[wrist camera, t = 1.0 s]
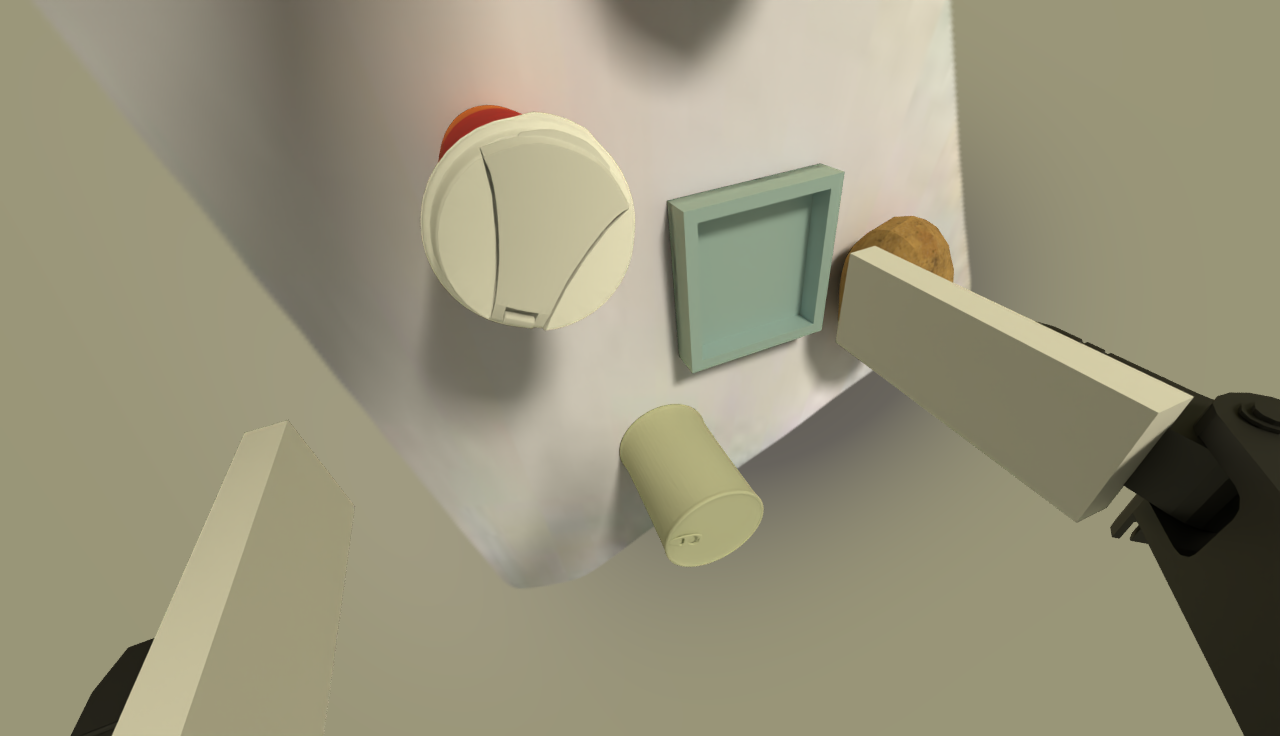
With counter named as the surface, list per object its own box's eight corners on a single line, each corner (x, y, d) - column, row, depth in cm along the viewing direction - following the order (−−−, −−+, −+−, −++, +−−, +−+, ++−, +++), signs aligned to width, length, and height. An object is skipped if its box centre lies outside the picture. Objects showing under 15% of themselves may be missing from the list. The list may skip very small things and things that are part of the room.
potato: (909, 179, 41) (994, 206, 35) (897, 309, 50) (963, 348, 44) (812, 224, 40) (882, 259, 34) (817, 348, 49) (874, 394, 43)
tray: (667, 200, 34) (683, 212, 32) (820, 163, 37) (844, 171, 35) (679, 356, 43) (692, 373, 41) (802, 316, 46) (821, 330, 44)
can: (624, 410, 44) (677, 509, 35) (711, 398, 48) (780, 486, 38) (615, 480, 49) (659, 583, 40) (694, 465, 53) (752, 557, 43)
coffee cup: (540, 241, 33) (604, 357, 21) (408, 205, 29) (401, 322, 17) (579, 113, 29) (681, 169, 18) (435, 51, 25) (449, 71, 14)
